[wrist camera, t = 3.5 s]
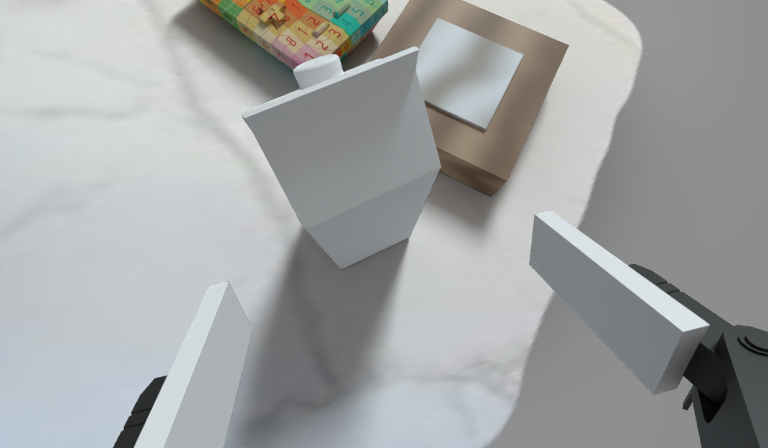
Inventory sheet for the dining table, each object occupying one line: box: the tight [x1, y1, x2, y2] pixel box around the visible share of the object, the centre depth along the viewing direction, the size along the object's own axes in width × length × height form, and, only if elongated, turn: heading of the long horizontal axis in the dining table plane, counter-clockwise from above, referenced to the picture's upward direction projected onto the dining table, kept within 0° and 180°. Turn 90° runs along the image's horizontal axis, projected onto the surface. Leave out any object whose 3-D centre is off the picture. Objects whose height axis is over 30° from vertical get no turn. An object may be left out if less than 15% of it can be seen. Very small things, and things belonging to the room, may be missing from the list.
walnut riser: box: [369, 0, 569, 197], centre depth 32 cm, size 16×16×4 cm
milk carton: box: [242, 46, 441, 269], centre depth 21 cm, size 7×7×19 cm
